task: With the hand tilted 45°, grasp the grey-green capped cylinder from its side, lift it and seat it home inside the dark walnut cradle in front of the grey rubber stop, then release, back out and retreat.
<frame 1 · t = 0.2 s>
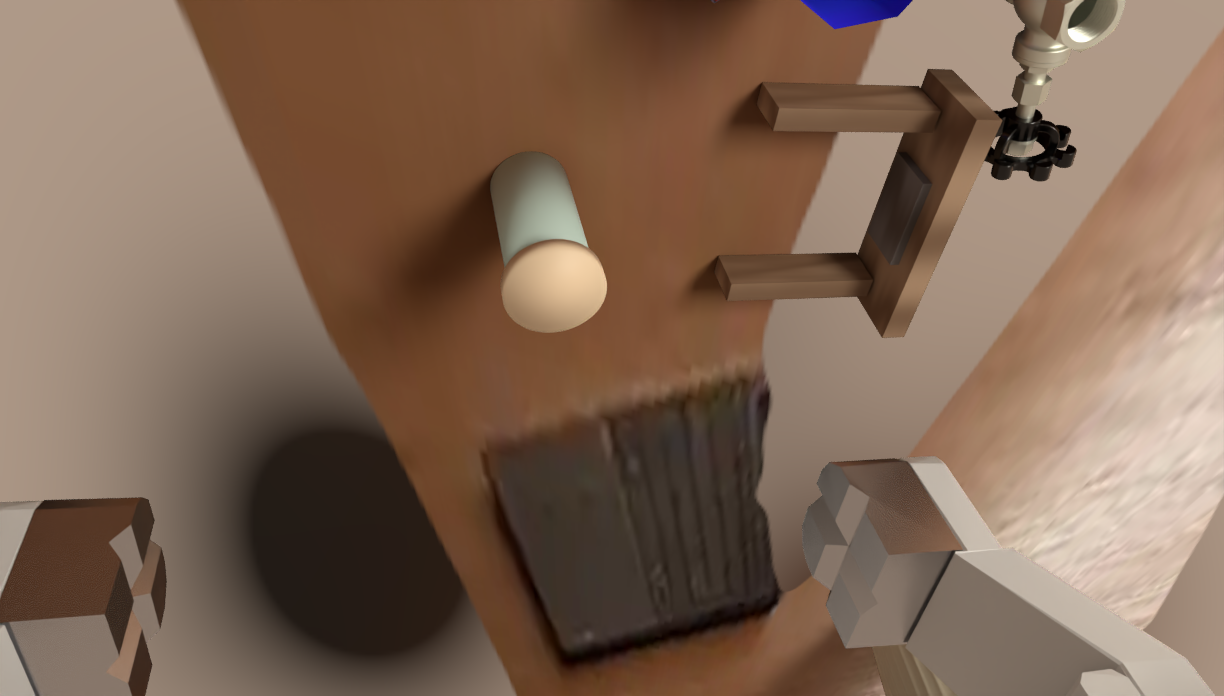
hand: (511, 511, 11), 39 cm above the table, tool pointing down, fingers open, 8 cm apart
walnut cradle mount: (795, 184, 58), on the table
valve: (1007, 33, 54), on the table
grey-green capped cylinder: (529, 185, 54), on the table
canister: (920, 599, 101), on the table
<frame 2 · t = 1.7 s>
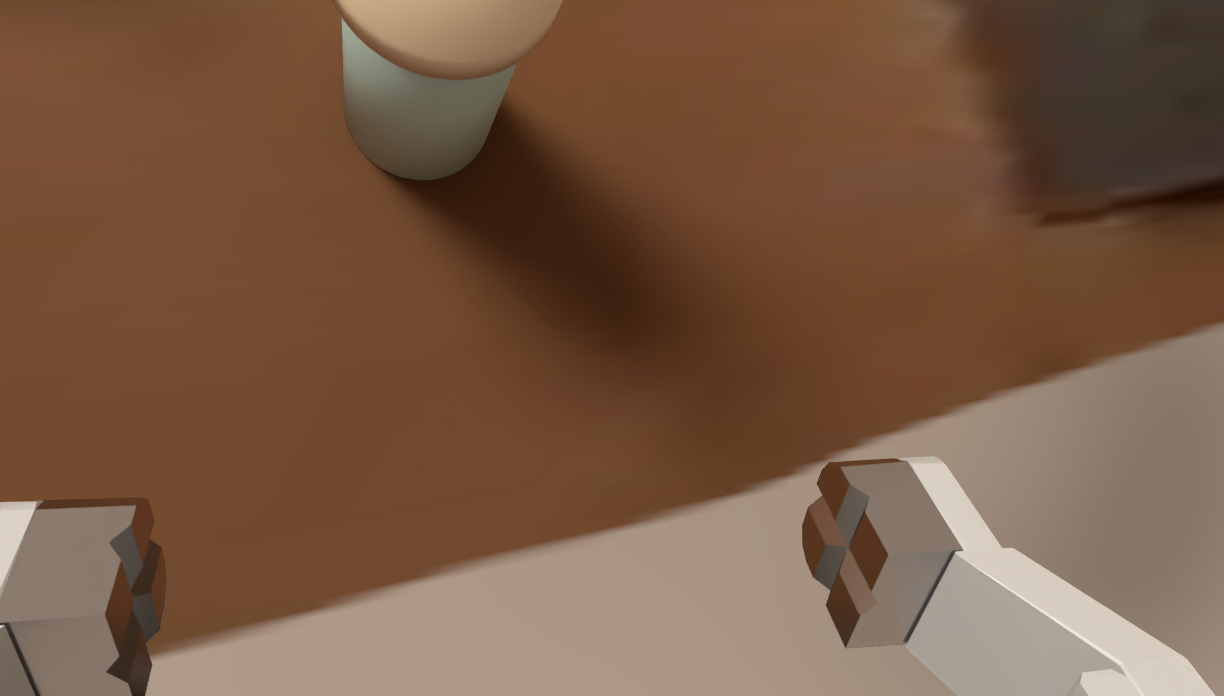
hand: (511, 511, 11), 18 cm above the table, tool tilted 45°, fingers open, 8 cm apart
grey-green capped cylinder: (418, 110, 29), on the table
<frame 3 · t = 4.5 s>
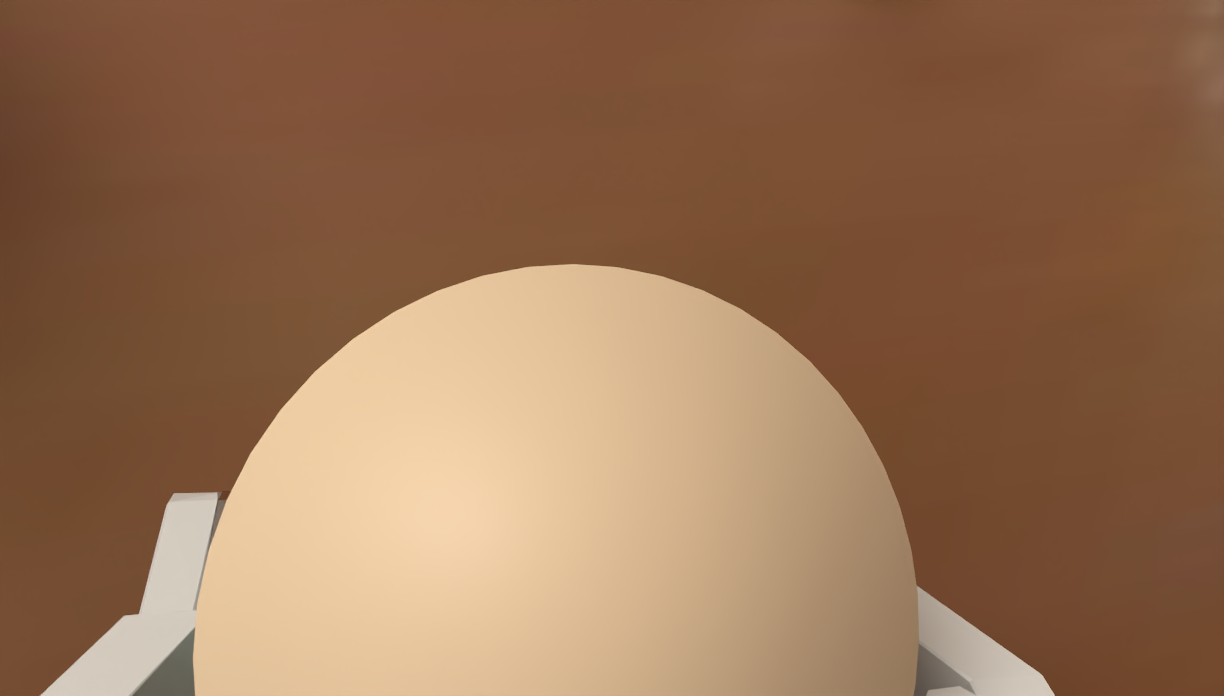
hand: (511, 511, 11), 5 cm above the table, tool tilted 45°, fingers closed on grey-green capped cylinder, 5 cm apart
grey-green capped cylinder: (477, 535, 16), on the table, touching gripper
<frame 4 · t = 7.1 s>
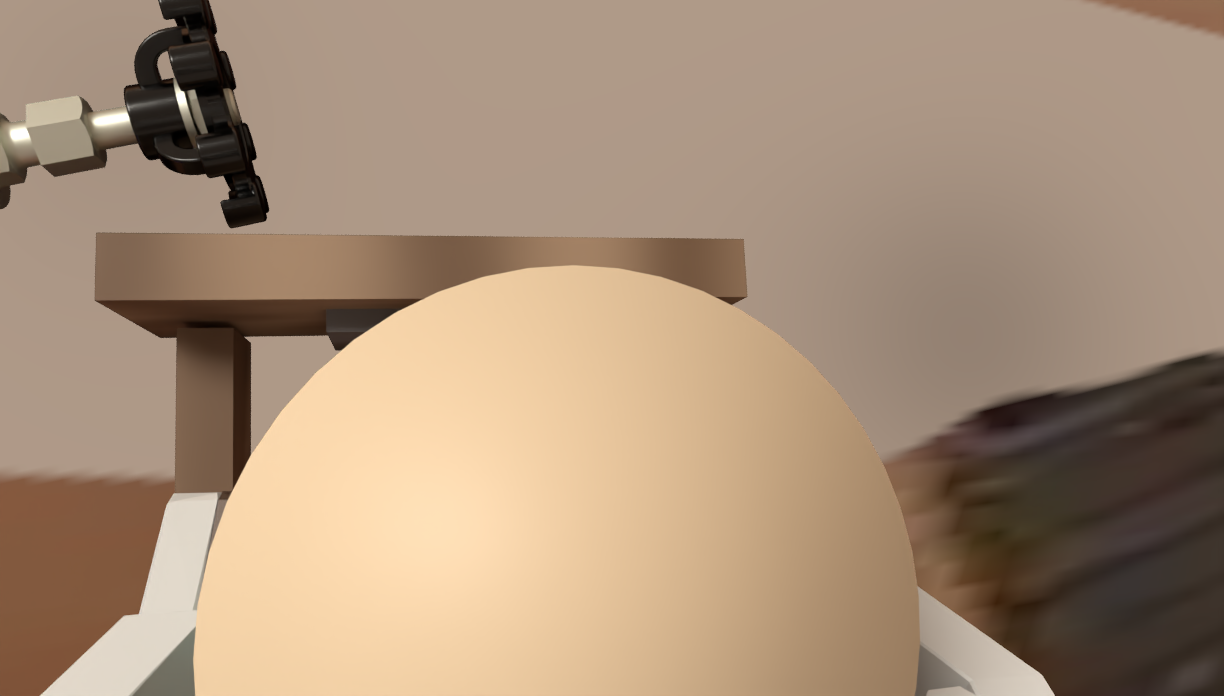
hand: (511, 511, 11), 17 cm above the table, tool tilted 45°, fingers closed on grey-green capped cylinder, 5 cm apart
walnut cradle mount: (442, 534, 28), on the table
valve: (45, 189, 27), on the table
grey-green capped cylinder: (477, 535, 16), point 12 cm above the table, touching gripper
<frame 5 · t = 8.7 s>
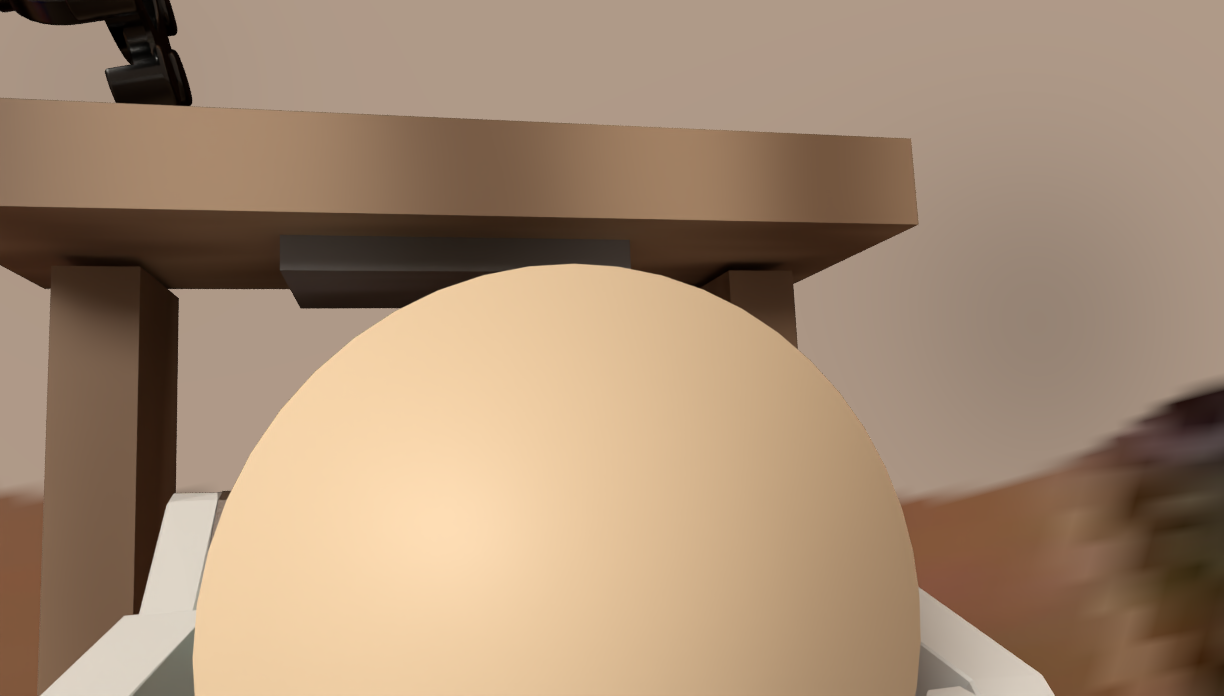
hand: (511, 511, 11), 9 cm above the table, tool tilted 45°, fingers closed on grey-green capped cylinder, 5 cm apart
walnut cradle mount: (453, 574, 20), on the table
grey-green capped cylinder: (477, 535, 16), point 3 cm above the table, touching gripper
when the fingers open (6 cm above the table, at t = 10.0 s): grey-green capped cylinder stays where it is, on the table.
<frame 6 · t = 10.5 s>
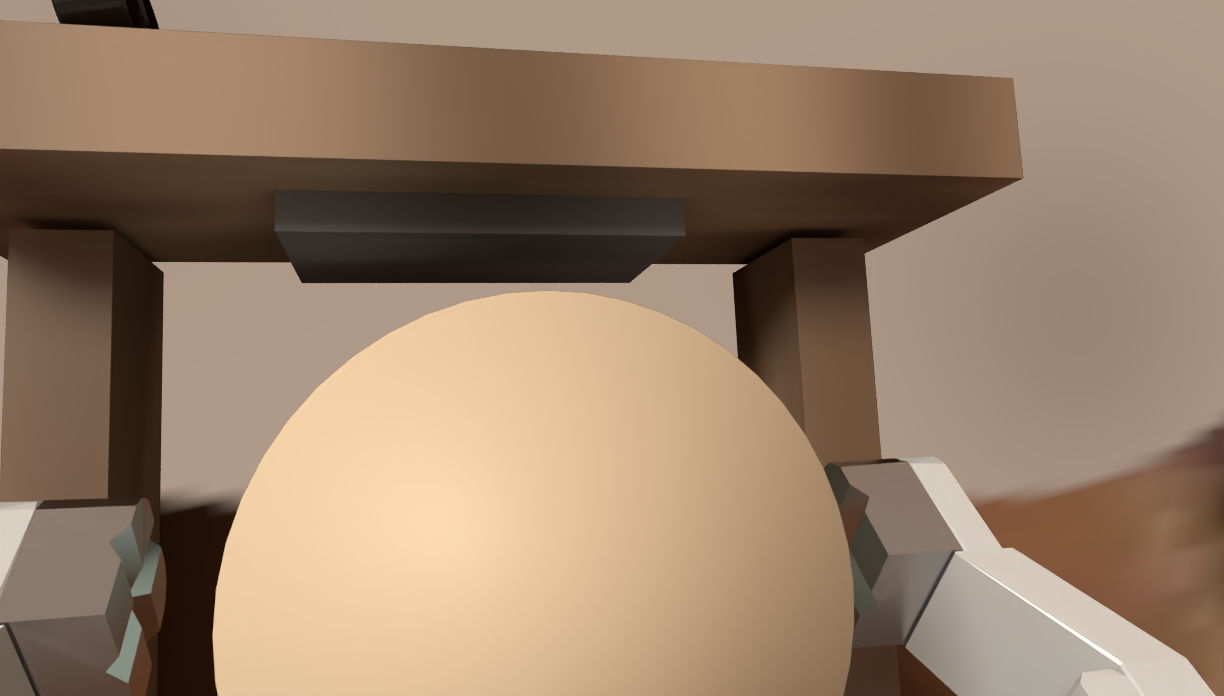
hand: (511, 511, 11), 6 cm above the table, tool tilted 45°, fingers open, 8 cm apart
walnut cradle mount: (476, 586, 17), on the table
grey-green capped cylinder: (471, 532, 17), on the table
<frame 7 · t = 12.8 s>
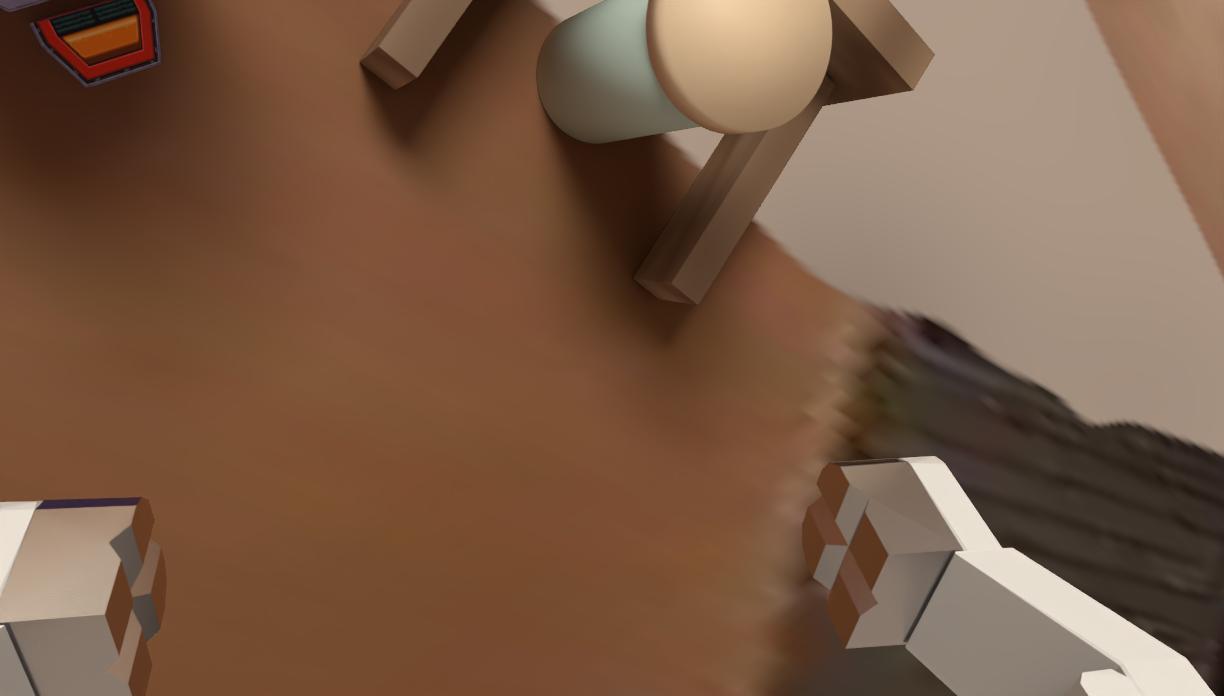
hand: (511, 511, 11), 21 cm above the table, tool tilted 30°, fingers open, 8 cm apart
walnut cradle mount: (582, 102, 33), on the table
grey-green capped cylinder: (595, 79, 33), on the table
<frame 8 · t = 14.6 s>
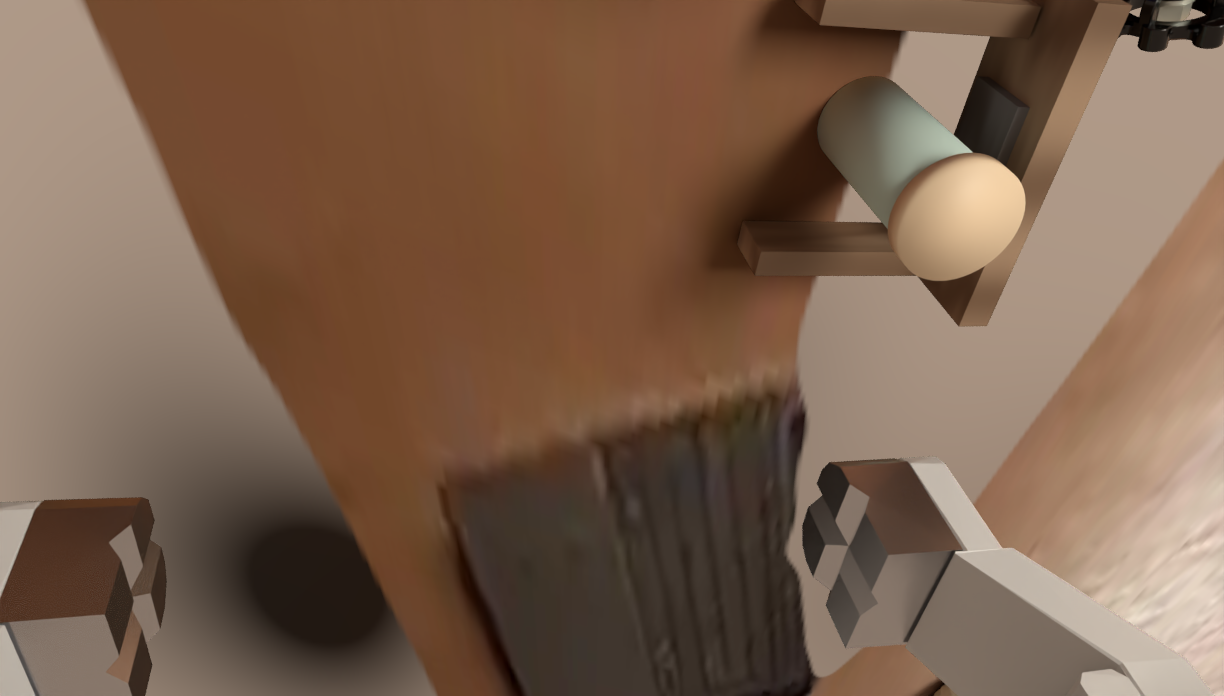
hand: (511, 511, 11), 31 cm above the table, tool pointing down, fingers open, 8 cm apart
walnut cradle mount: (843, 122, 45), on the table
grey-green capped cylinder: (862, 121, 45), on the table
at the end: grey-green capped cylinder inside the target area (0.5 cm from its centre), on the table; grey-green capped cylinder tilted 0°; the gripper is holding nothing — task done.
